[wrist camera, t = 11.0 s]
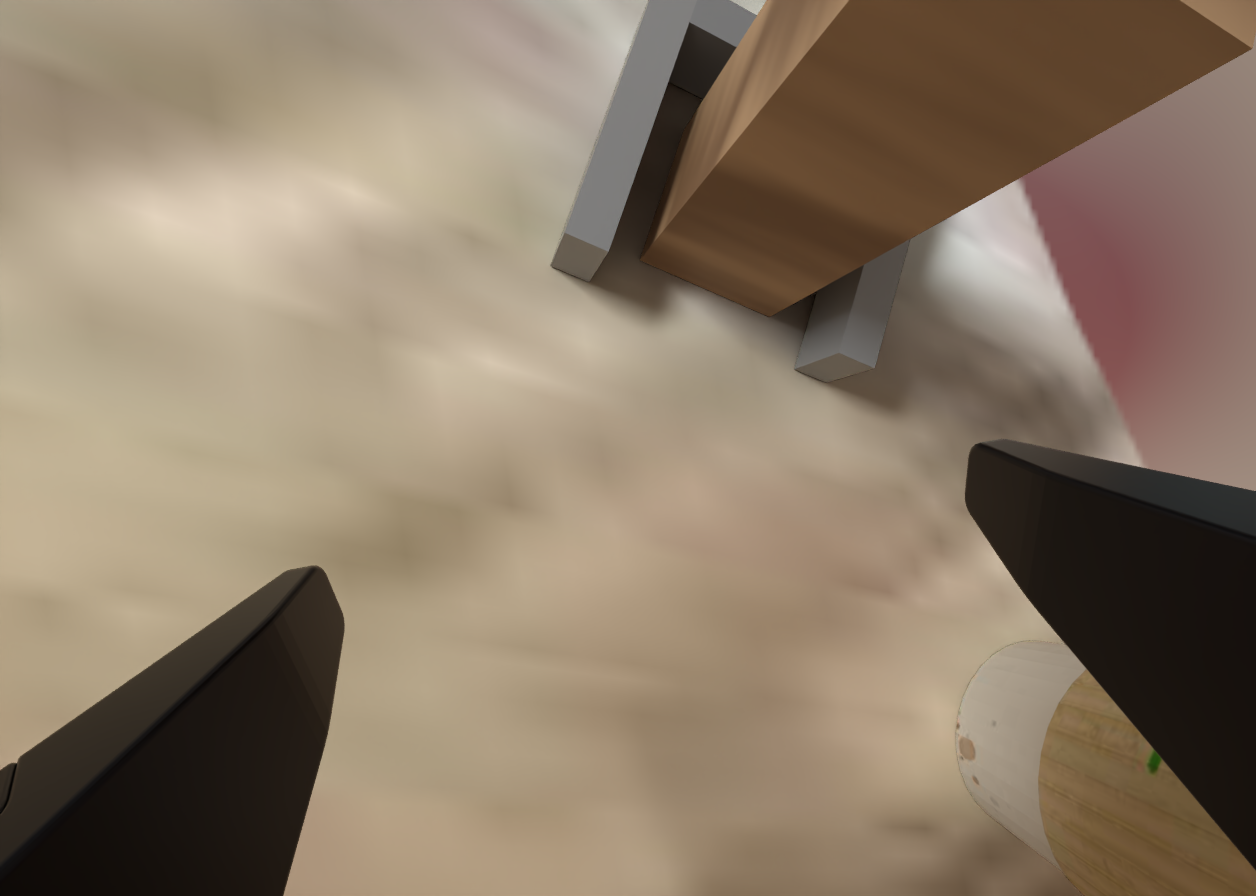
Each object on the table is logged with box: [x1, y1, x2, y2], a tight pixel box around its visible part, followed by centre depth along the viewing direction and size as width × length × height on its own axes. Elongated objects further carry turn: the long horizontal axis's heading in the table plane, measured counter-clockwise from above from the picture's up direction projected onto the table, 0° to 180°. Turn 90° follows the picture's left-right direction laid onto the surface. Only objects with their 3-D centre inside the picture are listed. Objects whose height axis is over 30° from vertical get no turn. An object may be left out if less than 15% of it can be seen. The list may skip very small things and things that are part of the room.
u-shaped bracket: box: [550, 0, 910, 383], centre depth 19 cm, size 8×9×2 cm
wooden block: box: [640, 0, 1256, 317], centre depth 14 cm, size 4×4×13 cm
